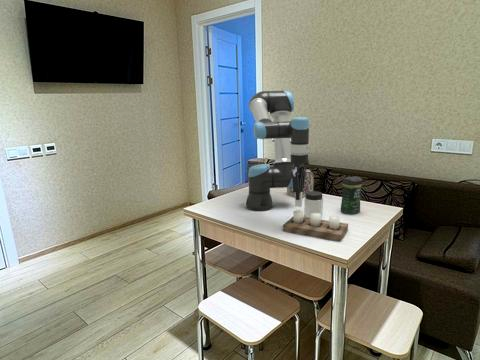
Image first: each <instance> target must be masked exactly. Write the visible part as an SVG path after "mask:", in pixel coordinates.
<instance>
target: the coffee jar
mask: <svg viewBox="0 0 480 360" xmlns="http://www.w3.org/2000/svg"><path fill="white" fill-rule="evenodd" d="M341 185H342V194H341V196H342V197H341V202H340V211H341V212H342V213H343V214H349V215H353V214H357V213H360V212H361V190H362V186H363V179H362V177H360V176H356V175H354V176H348V177H344V178H343V179H342V184H341Z"/></svg>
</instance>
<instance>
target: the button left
mask: <svg viewBox="0 0 480 360" xmlns="http://www.w3.org/2000/svg"><path fill="white" fill-rule="evenodd" d="M292 213H293V214H292V215H293V216H292V217H293V223H297V224H302V223H303V217H304V211H303V210H300V209H299V210H298V209H296V210H294V211H293V212H292Z"/></svg>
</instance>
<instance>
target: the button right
mask: <svg viewBox="0 0 480 360" xmlns="http://www.w3.org/2000/svg"><path fill="white" fill-rule="evenodd" d="M340 220H341V217H340V216H338V215H334V214H333V215H329V216H328V221H329V229H332V230H339V223H341V221H340Z"/></svg>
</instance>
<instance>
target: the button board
mask: <svg viewBox="0 0 480 360" xmlns="http://www.w3.org/2000/svg"><path fill="white" fill-rule="evenodd" d="M310 221H311V218H308V217H305V216H303V223H302V224H297V223H293V216H292V217H290V218H289V219H288V220H287V221H286V222H285V223H283V224H282V232H286V233H291V234H296V235H301V236H306V237H312V238H318V239H323V240H328V241H333V242H334V241H335V242H337V243H338V242H339V243H341V242H342V240H343V238H344V237H345V236H346V234H347V232H348V230H349V223H348V222H347V223H345V222H340V223H339V230H332V229H329V220H326V219H321V226H320V227H314V226H311V225H310Z"/></svg>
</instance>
